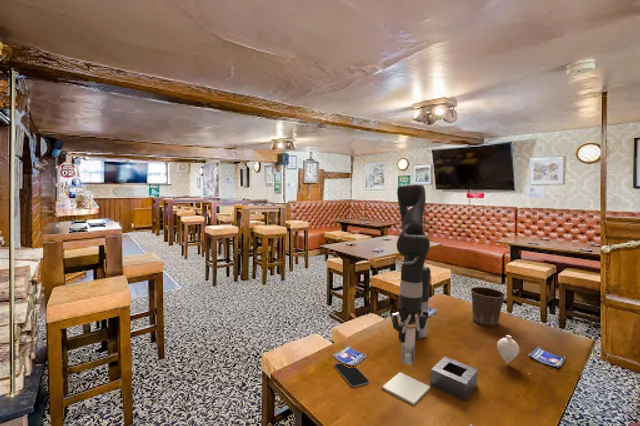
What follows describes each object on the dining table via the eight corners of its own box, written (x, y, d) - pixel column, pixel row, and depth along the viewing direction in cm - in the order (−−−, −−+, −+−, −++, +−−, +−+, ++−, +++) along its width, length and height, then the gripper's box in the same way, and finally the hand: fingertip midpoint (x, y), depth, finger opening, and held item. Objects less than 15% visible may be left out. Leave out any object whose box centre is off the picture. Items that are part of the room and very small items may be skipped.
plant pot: (503, 319, 171) (505, 290, 169) (502, 331, 157) (505, 299, 156) (470, 312, 179) (472, 285, 178) (466, 323, 166) (468, 293, 164)
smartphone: (350, 360, 128) (370, 381, 114) (350, 362, 128) (370, 384, 114) (333, 364, 125) (352, 386, 111) (333, 366, 125) (352, 389, 111)
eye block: (430, 385, 114) (430, 369, 113) (443, 371, 122) (444, 356, 122) (464, 401, 105) (465, 384, 105) (476, 385, 114) (478, 369, 113)
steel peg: (404, 365, 107) (406, 326, 106) (397, 358, 112) (399, 320, 111) (417, 363, 109) (419, 324, 107) (409, 356, 113) (411, 318, 112)
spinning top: (506, 371, 123) (509, 341, 122) (491, 360, 130) (493, 332, 129) (522, 368, 125) (525, 339, 124) (506, 358, 132) (508, 330, 131)
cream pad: (382, 388, 111) (382, 386, 111) (399, 374, 120) (399, 372, 120) (413, 405, 103) (414, 403, 103) (430, 388, 111) (430, 386, 111)
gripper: (397, 298, 103) (395, 349, 104) (435, 295, 107) (432, 343, 108) (386, 290, 110) (384, 338, 111) (422, 287, 114) (420, 333, 115)
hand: (408, 340), depth 110 cm, fingers closed on steel peg, 4 cm apart
